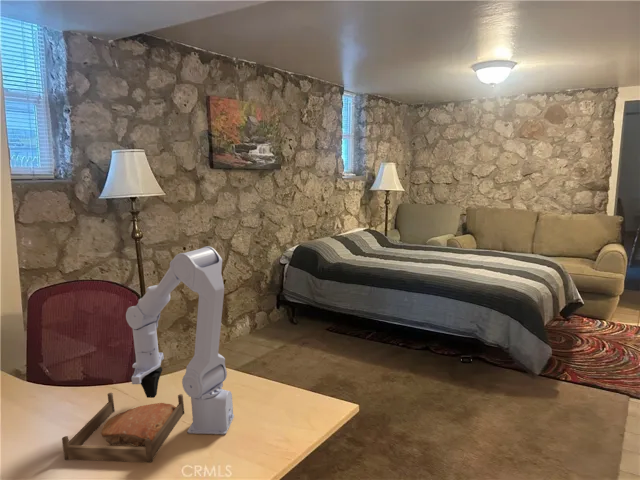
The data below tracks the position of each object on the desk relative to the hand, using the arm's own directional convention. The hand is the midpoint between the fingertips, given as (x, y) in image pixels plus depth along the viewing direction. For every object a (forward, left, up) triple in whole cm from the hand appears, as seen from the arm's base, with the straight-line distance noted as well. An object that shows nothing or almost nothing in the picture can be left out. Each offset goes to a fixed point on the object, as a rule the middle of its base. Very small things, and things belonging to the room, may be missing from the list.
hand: (151, 396), depth 122 cm
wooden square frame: (0, +13, -3) cm, 13 cm away
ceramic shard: (-1, +11, -3) cm, 11 cm away
